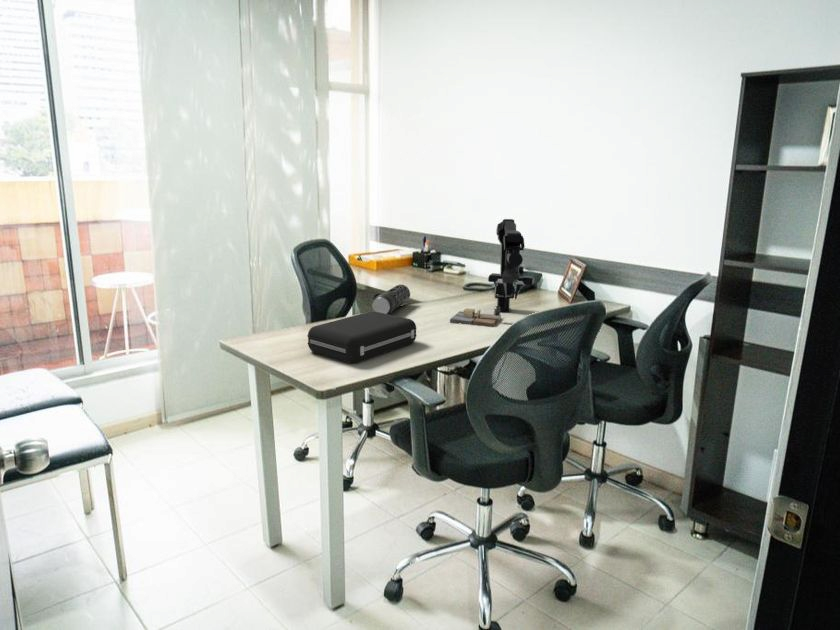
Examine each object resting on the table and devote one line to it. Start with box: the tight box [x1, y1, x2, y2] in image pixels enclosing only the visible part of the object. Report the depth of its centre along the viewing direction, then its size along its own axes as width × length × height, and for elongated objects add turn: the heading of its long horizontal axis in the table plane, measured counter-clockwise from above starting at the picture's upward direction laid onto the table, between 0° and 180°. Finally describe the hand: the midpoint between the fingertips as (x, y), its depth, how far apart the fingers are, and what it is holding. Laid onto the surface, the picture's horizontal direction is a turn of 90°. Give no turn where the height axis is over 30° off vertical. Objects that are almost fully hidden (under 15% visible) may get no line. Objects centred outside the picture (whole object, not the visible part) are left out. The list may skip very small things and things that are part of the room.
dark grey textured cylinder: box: [372, 284, 411, 315], centre depth 287 cm, size 10×28×10 cm, turn 163°
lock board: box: [449, 310, 502, 328], centre depth 273 cm, size 15×19×2 cm
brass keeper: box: [463, 307, 482, 319], centre depth 273 cm, size 4×7×3 cm, turn 70°
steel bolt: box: [480, 305, 501, 319], centre depth 270 cm, size 2×8×5 cm, turn 70°
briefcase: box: [306, 310, 417, 364], centre depth 235 cm, size 36×32×10 cm
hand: (510, 298), depth 265 cm, fingers open, 4 cm apart
